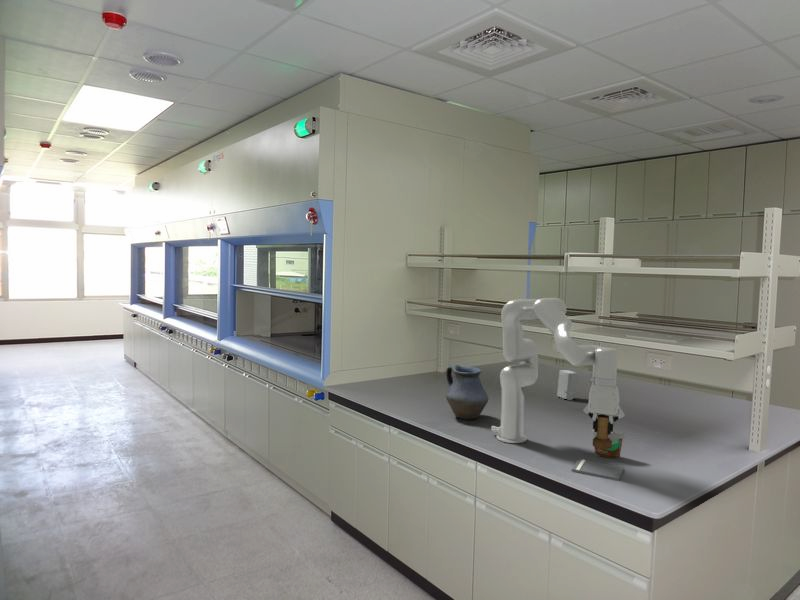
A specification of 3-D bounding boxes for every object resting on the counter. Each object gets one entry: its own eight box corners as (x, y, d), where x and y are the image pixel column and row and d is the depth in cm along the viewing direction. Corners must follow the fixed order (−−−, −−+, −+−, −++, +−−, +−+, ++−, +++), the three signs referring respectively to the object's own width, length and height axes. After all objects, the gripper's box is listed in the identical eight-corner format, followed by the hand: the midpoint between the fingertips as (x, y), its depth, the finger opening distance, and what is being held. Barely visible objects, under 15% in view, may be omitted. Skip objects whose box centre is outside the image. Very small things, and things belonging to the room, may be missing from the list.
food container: (587, 454, 212) (588, 429, 212) (591, 450, 217) (592, 426, 217) (620, 461, 205) (621, 435, 205) (623, 457, 210) (625, 432, 210)
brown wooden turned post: (611, 450, 190) (613, 400, 189) (592, 447, 193) (594, 398, 192) (611, 444, 196) (613, 396, 195) (592, 442, 199) (594, 394, 198)
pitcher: (476, 425, 248) (478, 372, 247) (434, 417, 260) (436, 366, 258) (493, 416, 265) (495, 365, 264) (454, 408, 277) (455, 360, 276)
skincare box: (556, 397, 308) (557, 370, 307) (566, 396, 311) (567, 369, 310) (566, 401, 300) (567, 372, 299) (576, 400, 303) (577, 372, 302)
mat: (571, 471, 194) (571, 468, 194) (578, 461, 205) (578, 458, 205) (619, 480, 186) (619, 477, 186) (623, 469, 197) (623, 467, 197)
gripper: (578, 381, 194) (576, 431, 195) (628, 386, 186) (626, 439, 187) (582, 377, 201) (580, 426, 202) (631, 383, 192) (629, 433, 193)
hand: (602, 431), depth 194 cm, fingers closed on brown wooden turned post, 4 cm apart
